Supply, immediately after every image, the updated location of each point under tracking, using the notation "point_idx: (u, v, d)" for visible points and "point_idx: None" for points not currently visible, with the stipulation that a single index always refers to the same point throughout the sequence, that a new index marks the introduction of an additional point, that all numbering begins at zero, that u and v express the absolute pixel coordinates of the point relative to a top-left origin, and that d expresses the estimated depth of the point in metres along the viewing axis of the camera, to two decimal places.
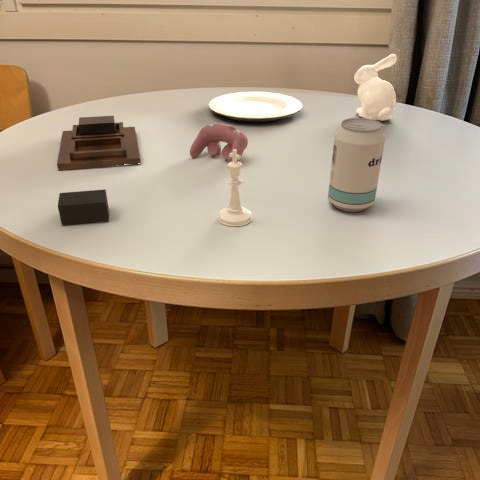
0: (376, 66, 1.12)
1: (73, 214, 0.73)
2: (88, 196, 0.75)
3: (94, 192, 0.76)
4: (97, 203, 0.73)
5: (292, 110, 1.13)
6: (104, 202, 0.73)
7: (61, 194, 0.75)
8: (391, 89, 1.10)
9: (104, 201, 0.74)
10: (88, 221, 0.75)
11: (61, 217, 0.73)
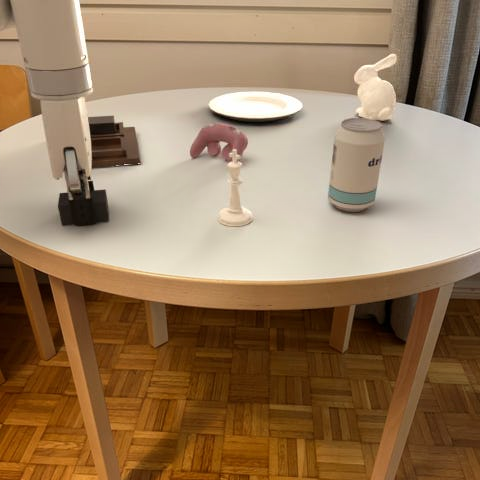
0: (376, 66, 1.12)
1: None
2: None
3: (94, 192, 0.76)
4: (97, 203, 0.73)
5: (292, 110, 1.13)
6: (104, 202, 0.73)
7: (61, 194, 0.75)
8: (391, 89, 1.10)
9: (104, 201, 0.74)
10: None
11: (61, 217, 0.73)
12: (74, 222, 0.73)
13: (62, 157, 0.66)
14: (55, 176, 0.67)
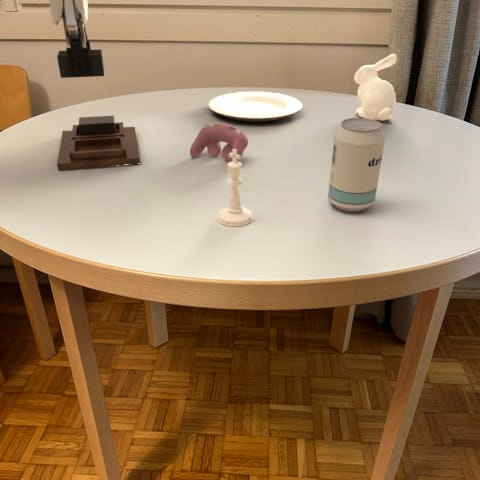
0: (376, 66, 1.12)
1: None
2: None
3: (91, 50, 0.83)
4: (93, 56, 0.80)
5: (292, 110, 1.13)
6: (99, 55, 0.80)
7: (60, 51, 0.82)
8: (391, 89, 1.10)
9: (99, 54, 0.80)
10: None
11: (60, 69, 0.80)
12: (72, 73, 0.80)
13: None
14: (54, 19, 0.74)
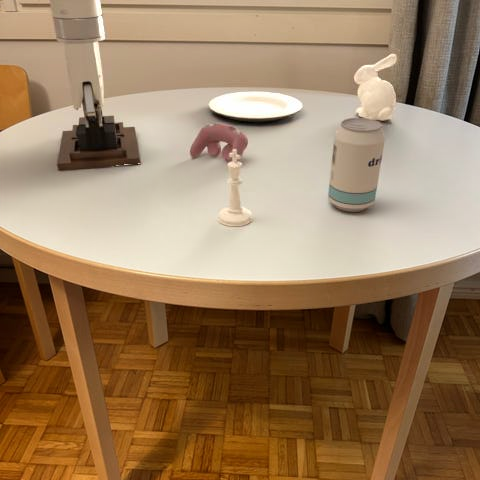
0: (376, 66, 1.12)
1: None
2: None
3: (105, 125, 0.94)
4: (108, 132, 0.91)
5: (292, 110, 1.13)
6: (114, 131, 0.91)
7: (79, 126, 0.93)
8: (391, 89, 1.10)
9: (114, 131, 0.91)
10: None
11: (79, 144, 0.91)
12: (89, 148, 0.91)
13: (81, 90, 0.84)
14: (75, 106, 0.85)
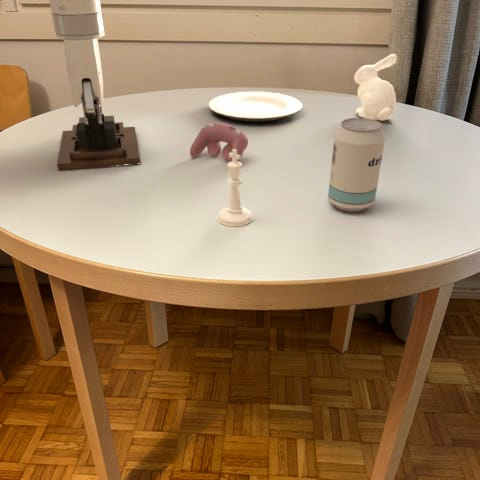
0: (376, 66, 1.12)
1: None
2: None
3: (105, 122, 0.93)
4: (108, 129, 0.91)
5: (292, 110, 1.13)
6: (113, 129, 0.91)
7: (78, 124, 0.93)
8: (391, 89, 1.10)
9: (113, 128, 0.91)
10: None
11: (79, 141, 0.91)
12: (89, 145, 0.91)
13: (80, 87, 0.83)
14: (75, 103, 0.85)
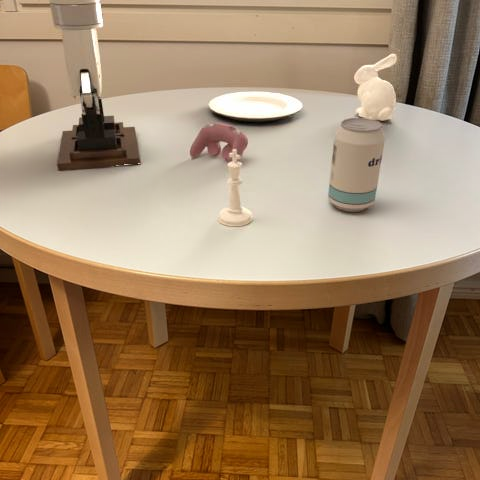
0: (376, 66, 1.12)
1: (89, 147, 0.92)
2: None
3: (106, 131, 0.94)
4: (108, 138, 0.92)
5: (292, 110, 1.13)
6: (114, 137, 0.92)
7: (79, 132, 0.94)
8: (391, 89, 1.10)
9: (114, 136, 0.92)
10: None
11: (79, 149, 0.92)
12: (86, 136, 0.88)
13: (79, 77, 0.83)
14: (73, 94, 0.84)
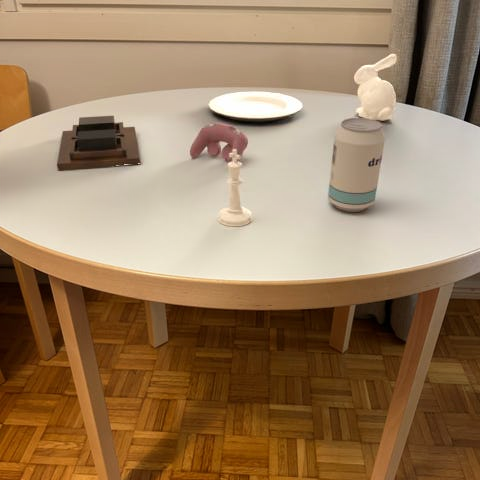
0: (376, 66, 1.12)
1: (89, 147, 0.92)
2: (101, 134, 0.93)
3: (106, 131, 0.94)
4: (108, 138, 0.92)
5: (292, 110, 1.13)
6: (114, 137, 0.92)
7: (79, 132, 0.94)
8: (391, 89, 1.10)
9: (114, 136, 0.92)
10: None
11: (79, 149, 0.92)
12: None
13: None
14: None
